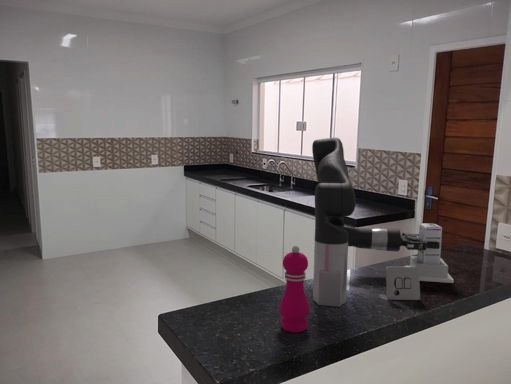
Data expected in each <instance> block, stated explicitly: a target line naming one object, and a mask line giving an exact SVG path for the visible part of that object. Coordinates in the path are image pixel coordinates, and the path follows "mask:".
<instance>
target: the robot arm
mask: <svg viewBox="0 0 511 384" xmlns="http://www.w3.org/2000/svg"><path fill="white" fill-rule="evenodd" d="M343 145H344V144H343V142H342V140H341V139H340V138H339V137H326V138H320V139H319V138H318V139H315V140H314V141H313V142H312V147H311V148H312V149H311V150H312V151H311V152H312V158H313V163H314V169H315V174H316V178H317V182H318V184H316V187H315V190H314V217H315V218H314V219H315V222H314V223H315V225H314V248H313V249H314V250H313V251H314V253H313V254H314V255H313V288H312V289H313V291H312V292H313V293H312V294H313V295H312V296H313V297H312V299H313V301H314V302H315V303H316V304H317V305H318V306H328V307H336V308H337V307H338V308H339V307H342V305H345V304H346V303H347V287H348V283H347V282H348V262H349V261H348V259H349V255H348V254H349V247H355V248H358V249H364V250H365V249H367V250H368V249H369V250H375V251H383V252H385V251H386V252H397V253H398V252H399V251H400V249H401V247H405V248H406V250H408V251H412V250H413V251H418V250H426V249H427V248H431V249H439V248H440V243H439V242H433V241H423V240H421V239H420V238H419V233H409V232H407V233H405V232H402V233H401V231H400V229H398V228H396V229H395V228H379V227H377V228H363V227H359V228H358V227H351V226H345V223H344V218H345V217H346V218H347V217H350V216H352V214H353V213H354V211H355V209H356V204H357V203H356V202H357V200H356V193H355V190H354V186H353V185H352V182H351V180H350V177H349V170H348V166H347V163H346V160H345V151H344V146H343ZM420 244H422V246H420Z"/></svg>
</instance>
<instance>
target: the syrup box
mask: <svg viewBox="0 0 511 384" xmlns="http://www.w3.org/2000/svg"><path fill="white" fill-rule="evenodd" d="M418 228H419V229H418V234H419V238H420V239H421V240H423V241H433V242H439V243H440V248H439V249H431V248H427V249H426V250H417V262H418V263H419V264H435V265H440V258H441V251H442V237H443V236H442V234H443V227H442V226H440V225H438V224H436V223H429V222H427V223H423V222H422V223H419V226H418ZM420 246H422V244H420Z"/></svg>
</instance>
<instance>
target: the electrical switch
mask: <svg viewBox="0 0 511 384" xmlns="http://www.w3.org/2000/svg"><path fill="white" fill-rule="evenodd" d="M384 269H385V284H386V291H385V292H386V293H385V294H386V299H387V300H390V301H391V300H392V301H394V300H395V301H419V300H420V299H421V285H420V284H421V283H420V281H419V269H418V268H417V267H405V266H391V265H390V266H386V267H385V268H384Z"/></svg>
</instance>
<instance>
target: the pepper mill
mask: <svg viewBox="0 0 511 384" xmlns="http://www.w3.org/2000/svg"><path fill="white" fill-rule="evenodd" d="M282 266H283V269H284V270H285V271H284V279H285V282H286V285H285V286H286V287H285V290H284V293H283V296H282V297H281V300H280V304H279V309H278V310H279V313H280V316H281V320H280V322H281V323H280V324H281V325H280V327H281V328H282V329H283V330H284V331H286V332H290V333H301V332H304V331H306V330H307V328H308V319H307V317H308V316H309V315H310V304H309V301H308V298H307V296H306V294H305V293H306V292H305V285H304V282H305V280H306V272H305V271H306V270H307V269H308V267H309V260H308V257H307V256H306V255H305V254H304V253H303V252H300V247H299V246H297V245H294V246H293V247H292V248H291V252H289V253H287V254H286V255H285V256H284V257H283V260H282Z"/></svg>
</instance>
